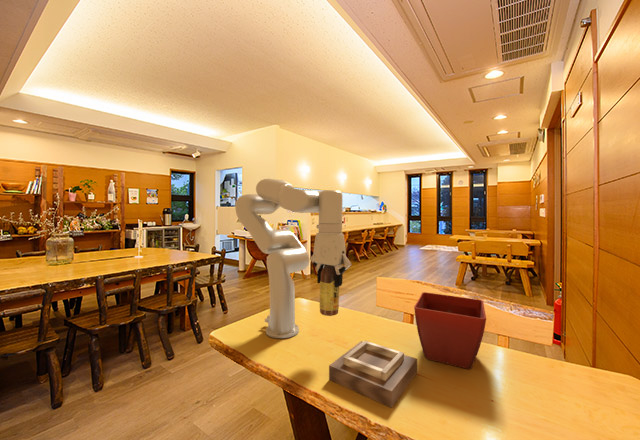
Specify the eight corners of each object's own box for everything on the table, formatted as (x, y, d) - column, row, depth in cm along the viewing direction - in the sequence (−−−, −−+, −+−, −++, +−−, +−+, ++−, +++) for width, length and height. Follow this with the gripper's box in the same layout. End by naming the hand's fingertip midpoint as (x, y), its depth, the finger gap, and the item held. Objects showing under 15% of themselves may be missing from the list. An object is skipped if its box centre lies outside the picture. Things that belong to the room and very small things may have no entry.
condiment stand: (329, 379, 76) (329, 358, 76) (361, 353, 90) (361, 334, 90) (391, 408, 65) (391, 382, 65) (417, 372, 79) (417, 351, 79)
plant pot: (482, 349, 93) (483, 299, 92) (485, 379, 76) (486, 318, 76) (422, 337, 102) (422, 291, 101) (412, 361, 85) (413, 307, 85)
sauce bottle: (337, 317, 87) (338, 254, 86) (317, 316, 88) (318, 253, 87) (339, 310, 93) (341, 251, 92) (321, 308, 94) (322, 250, 93)
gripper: (302, 228, 91) (301, 282, 92) (347, 231, 81) (346, 292, 82) (316, 227, 97) (315, 277, 98) (359, 229, 87) (358, 286, 88)
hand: (329, 283), depth 90 cm, fingers closed on sauce bottle, 6 cm apart
